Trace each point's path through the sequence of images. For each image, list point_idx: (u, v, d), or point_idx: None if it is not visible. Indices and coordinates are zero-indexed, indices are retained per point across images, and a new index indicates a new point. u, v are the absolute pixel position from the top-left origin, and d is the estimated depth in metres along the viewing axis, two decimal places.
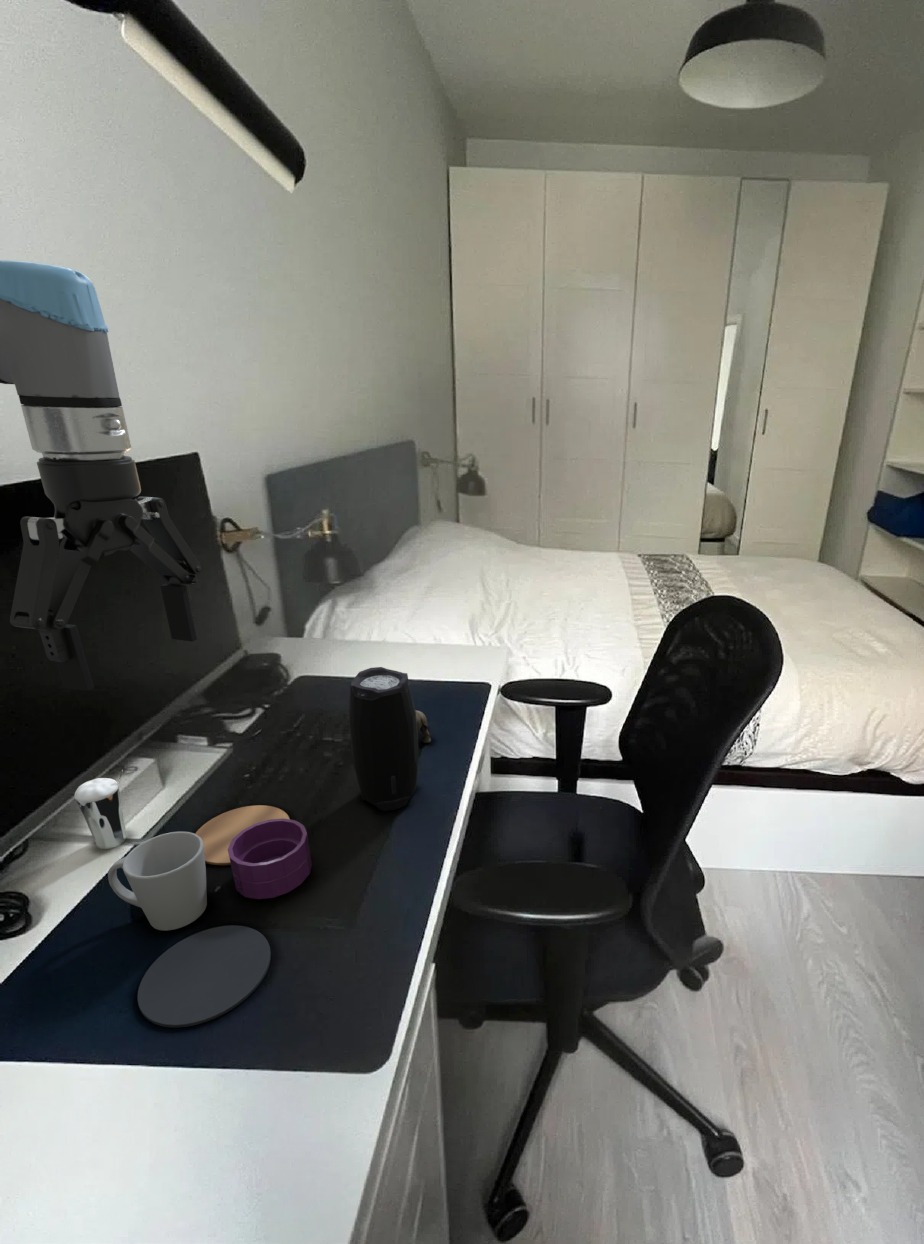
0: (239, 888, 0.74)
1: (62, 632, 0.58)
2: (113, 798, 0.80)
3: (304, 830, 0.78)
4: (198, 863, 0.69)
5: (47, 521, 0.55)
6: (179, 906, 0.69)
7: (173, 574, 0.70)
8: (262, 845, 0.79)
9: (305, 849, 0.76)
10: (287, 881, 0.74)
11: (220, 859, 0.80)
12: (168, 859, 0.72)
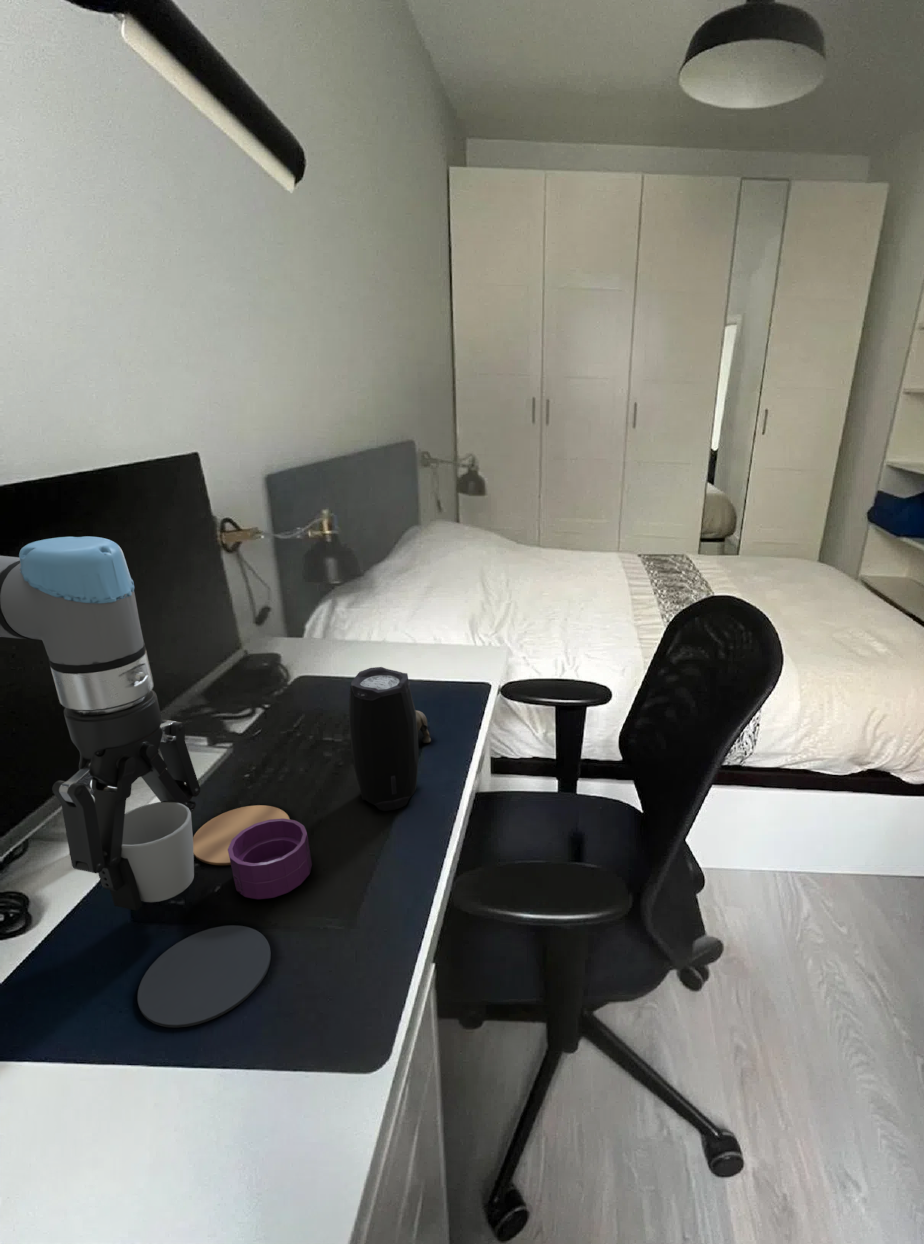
0: (239, 888, 0.74)
1: (116, 865, 0.64)
2: None
3: (304, 830, 0.78)
4: (185, 833, 0.67)
5: (77, 790, 0.58)
6: (165, 877, 0.67)
7: (173, 800, 0.70)
8: (262, 845, 0.79)
9: (305, 849, 0.76)
10: (287, 881, 0.74)
11: (220, 859, 0.80)
12: (154, 830, 0.70)
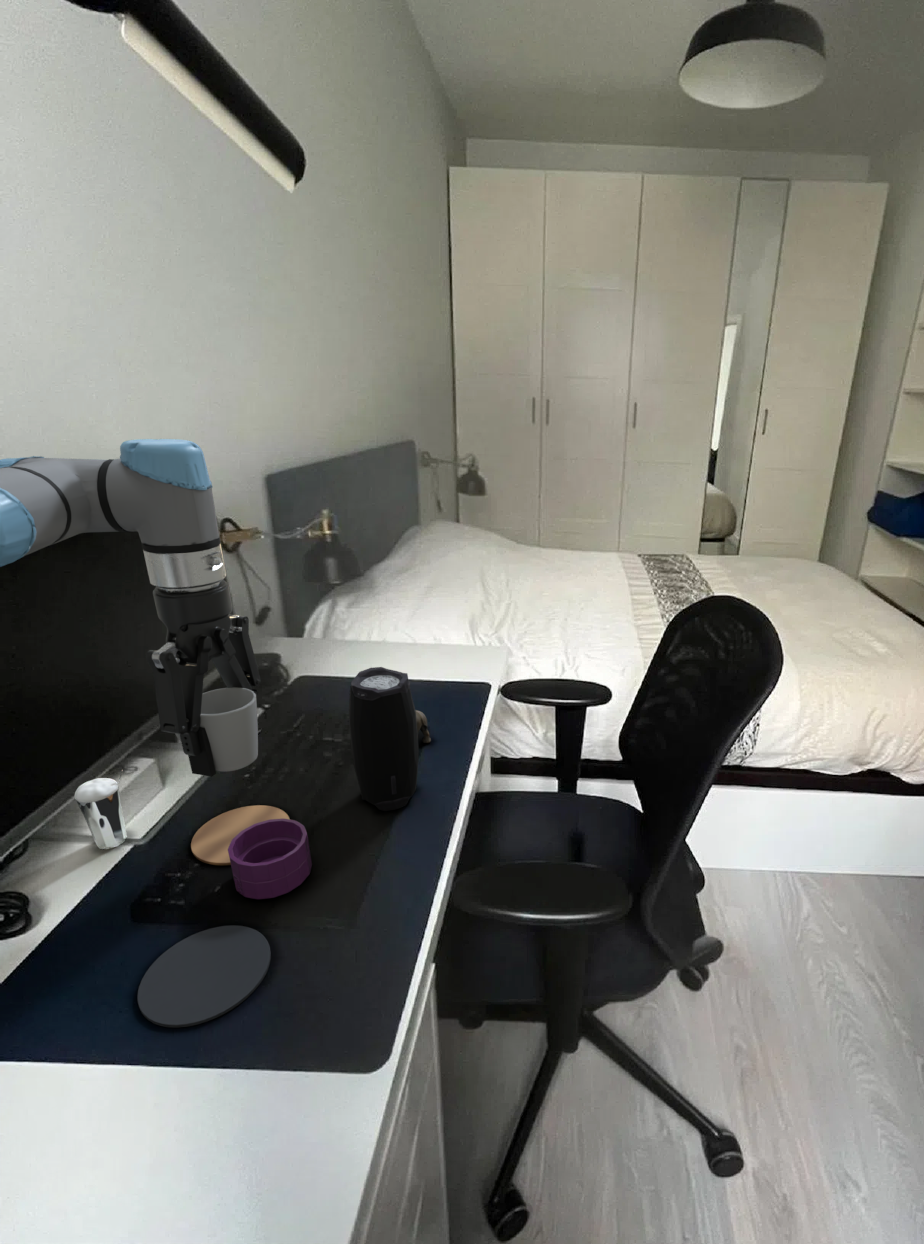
0: (239, 888, 0.74)
1: (196, 733, 0.73)
2: (113, 798, 0.80)
3: (304, 830, 0.78)
4: (252, 710, 0.77)
5: (167, 656, 0.67)
6: (235, 747, 0.76)
7: (239, 686, 0.80)
8: (262, 845, 0.79)
9: (305, 849, 0.76)
10: (287, 881, 0.74)
11: (220, 859, 0.80)
12: (223, 712, 0.80)
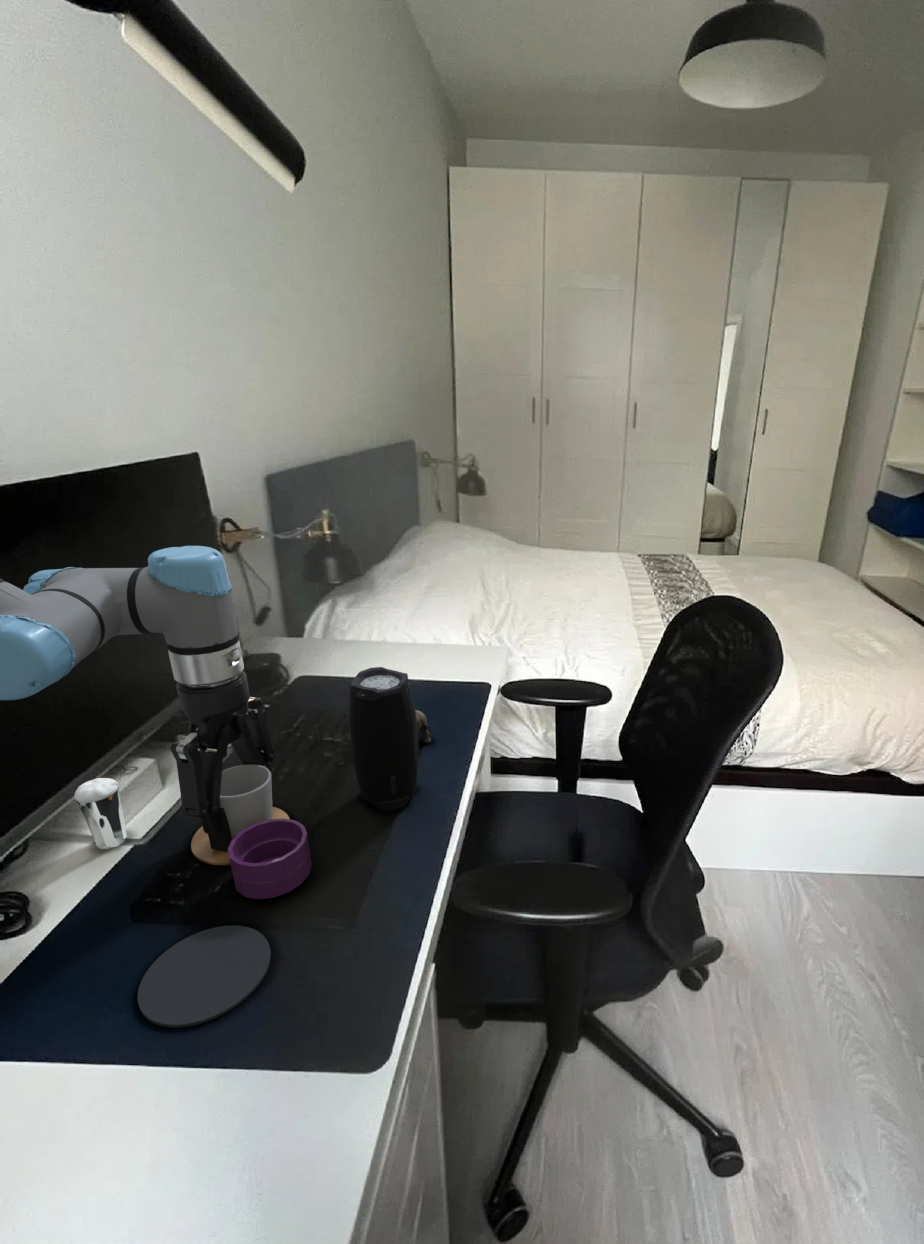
0: (239, 888, 0.74)
1: (215, 813, 0.78)
2: (113, 798, 0.80)
3: (304, 830, 0.78)
4: (268, 789, 0.82)
5: (190, 748, 0.72)
6: (252, 824, 0.81)
7: (255, 763, 0.85)
8: (262, 845, 0.79)
9: (305, 849, 0.76)
10: (287, 881, 0.74)
11: (220, 859, 0.80)
12: (239, 788, 0.85)
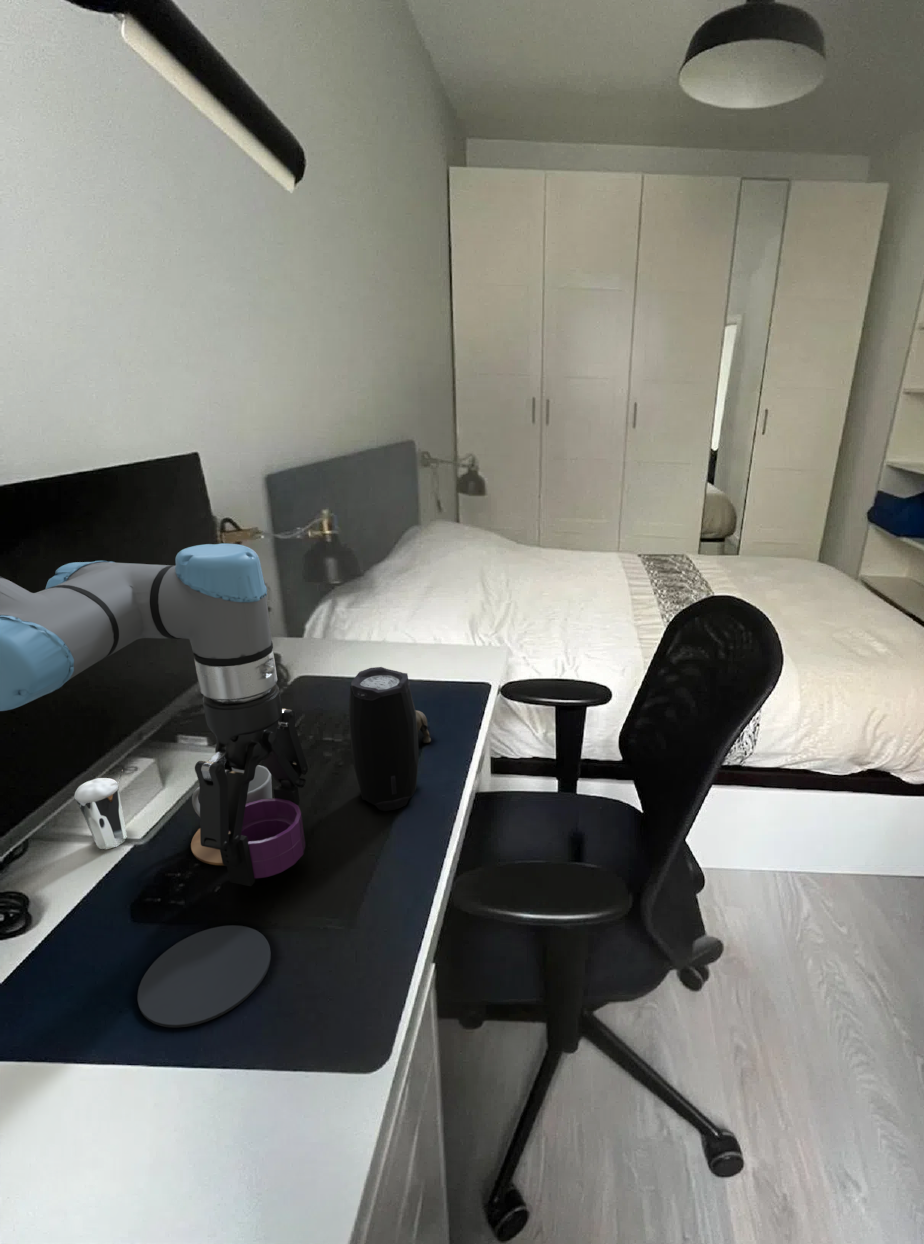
0: None
1: (236, 844, 0.69)
2: (113, 798, 0.80)
3: (298, 810, 0.77)
4: (268, 789, 0.82)
5: (217, 768, 0.64)
6: None
7: (288, 778, 0.77)
8: (256, 824, 0.78)
9: (299, 829, 0.75)
10: (280, 861, 0.73)
11: (220, 859, 0.80)
12: None
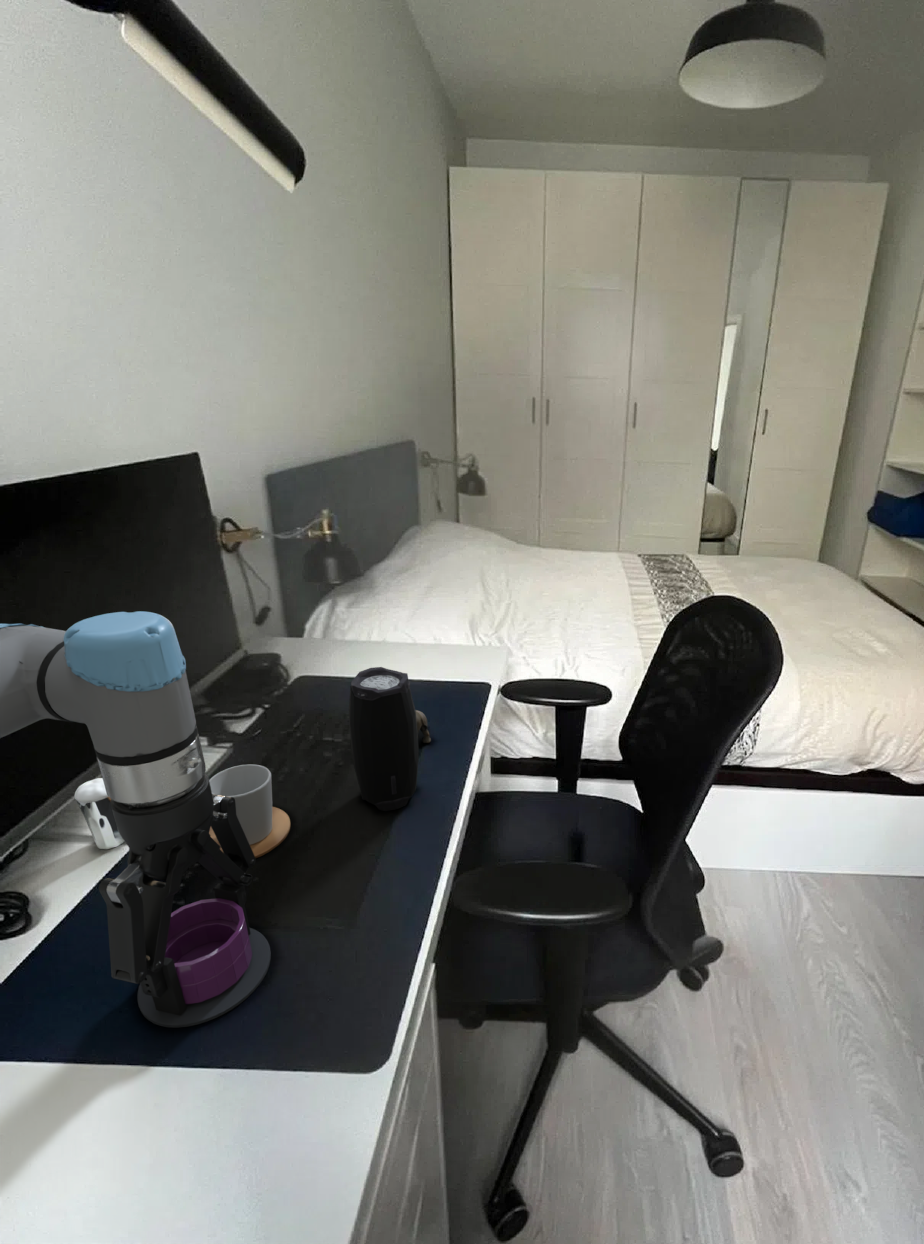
0: None
1: (159, 969, 0.57)
2: None
3: (242, 915, 0.65)
4: (268, 789, 0.82)
5: (126, 889, 0.52)
6: (252, 824, 0.81)
7: (229, 877, 0.65)
8: (193, 931, 0.66)
9: (241, 940, 0.63)
10: (218, 982, 0.61)
11: None
12: (239, 788, 0.85)
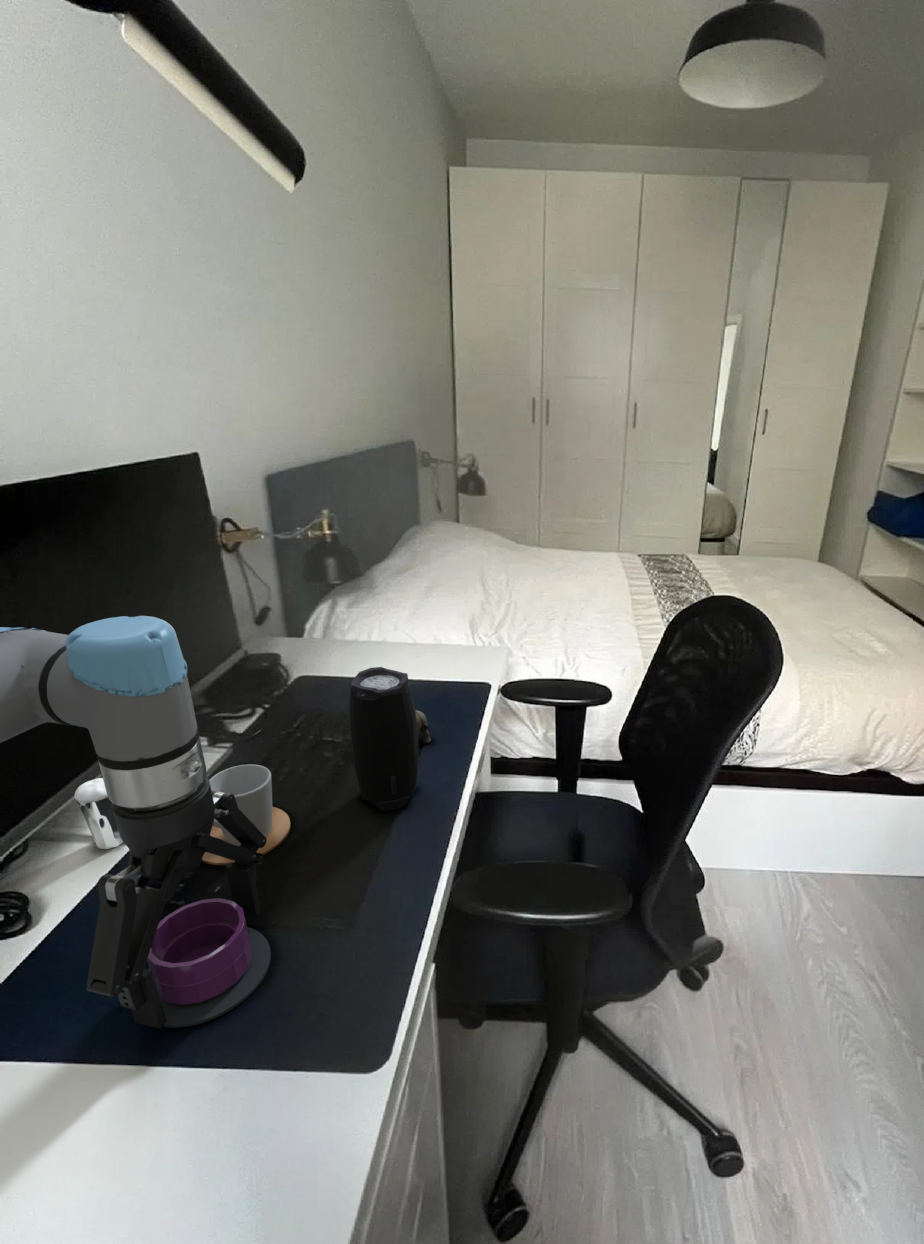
0: (159, 991, 0.61)
1: (137, 981, 0.55)
2: None
3: (242, 915, 0.65)
4: (268, 789, 0.82)
5: (126, 884, 0.52)
6: None
7: (240, 860, 0.67)
8: (193, 931, 0.66)
9: (241, 940, 0.63)
10: (218, 982, 0.61)
11: (220, 859, 0.80)
12: (239, 788, 0.85)
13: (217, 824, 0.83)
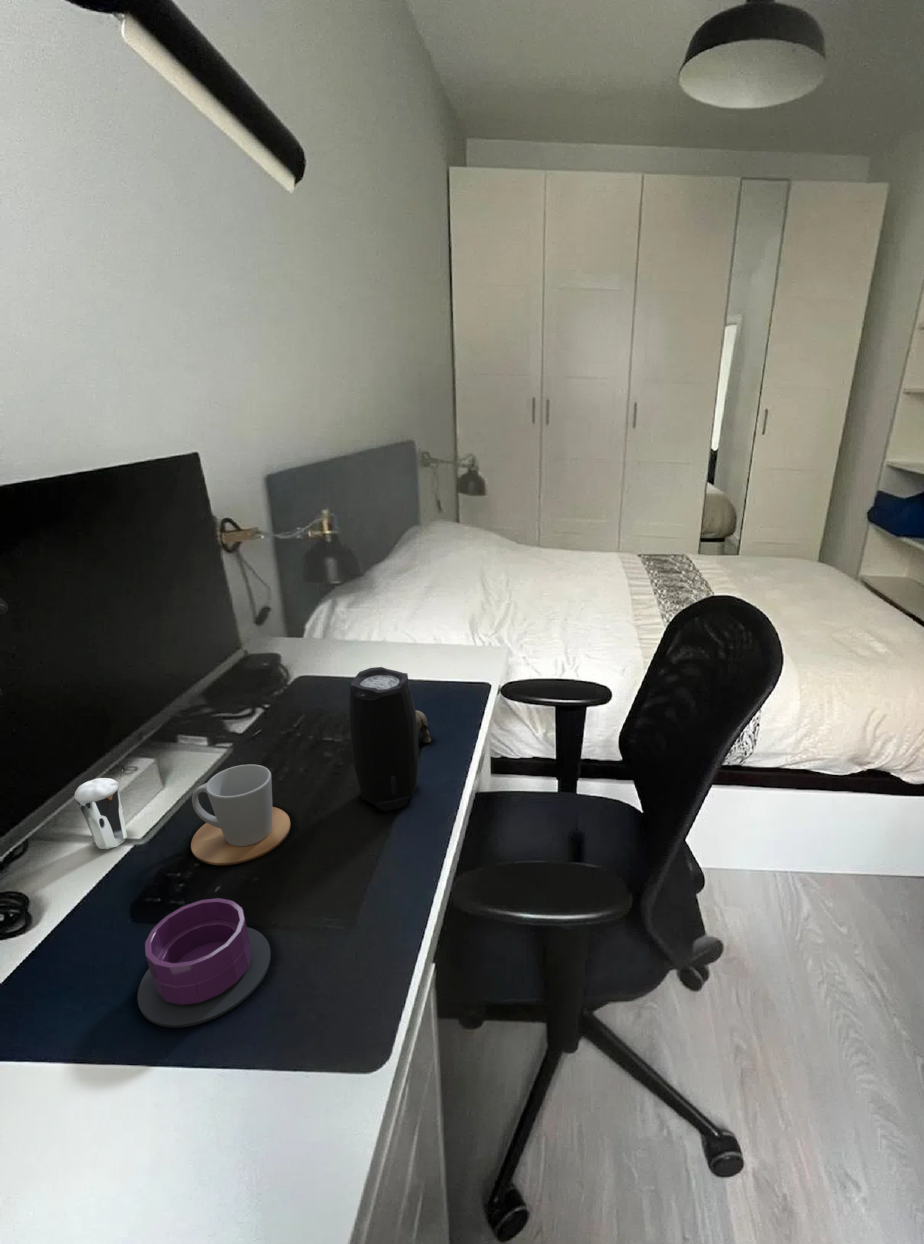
0: (159, 991, 0.61)
1: None
2: (113, 798, 0.80)
3: (242, 915, 0.65)
4: (268, 789, 0.82)
5: None
6: (252, 824, 0.81)
7: None
8: (193, 931, 0.66)
9: (241, 940, 0.63)
10: (218, 982, 0.61)
11: (220, 859, 0.80)
12: (239, 788, 0.85)
13: (217, 824, 0.83)
